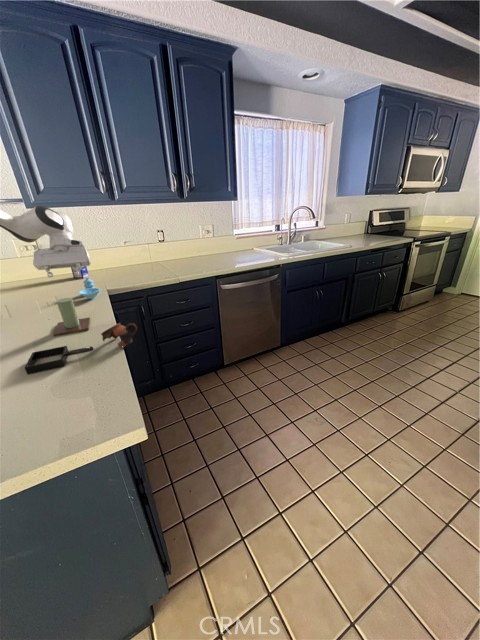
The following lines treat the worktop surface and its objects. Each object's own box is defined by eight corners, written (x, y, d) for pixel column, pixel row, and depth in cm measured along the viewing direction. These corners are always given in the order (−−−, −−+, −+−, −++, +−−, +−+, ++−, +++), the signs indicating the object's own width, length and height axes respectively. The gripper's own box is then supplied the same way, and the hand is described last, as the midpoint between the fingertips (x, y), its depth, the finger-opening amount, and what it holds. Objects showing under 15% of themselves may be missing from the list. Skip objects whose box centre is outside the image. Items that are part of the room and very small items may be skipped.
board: (53, 336, 102) (52, 334, 101) (58, 324, 112) (58, 322, 111) (88, 330, 106) (87, 328, 106) (90, 319, 116) (89, 317, 116)
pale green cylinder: (64, 329, 105) (55, 303, 101) (66, 324, 110) (57, 299, 105) (79, 326, 107) (71, 301, 103) (80, 321, 112) (72, 297, 107)
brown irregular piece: (113, 354, 90) (99, 333, 88) (111, 354, 98) (97, 335, 96) (144, 334, 95) (131, 315, 94) (139, 336, 103) (127, 318, 102)
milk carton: (80, 276, 187) (71, 247, 179) (89, 275, 187) (81, 247, 179) (73, 278, 181) (65, 249, 173) (83, 278, 181) (75, 248, 172)
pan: (27, 374, 79) (24, 367, 78) (35, 358, 87) (32, 352, 86) (94, 359, 86) (92, 353, 85) (95, 346, 94) (93, 340, 93)
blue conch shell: (102, 299, 140) (98, 283, 136) (80, 303, 135) (75, 286, 132) (101, 290, 154) (97, 275, 150) (81, 293, 150) (76, 278, 146)
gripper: (29, 244, 106) (29, 274, 102) (86, 241, 112) (88, 268, 108) (37, 254, 112) (37, 282, 107) (90, 250, 118) (93, 276, 113)
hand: (63, 275), depth 108 cm, fingers open, 8 cm apart
